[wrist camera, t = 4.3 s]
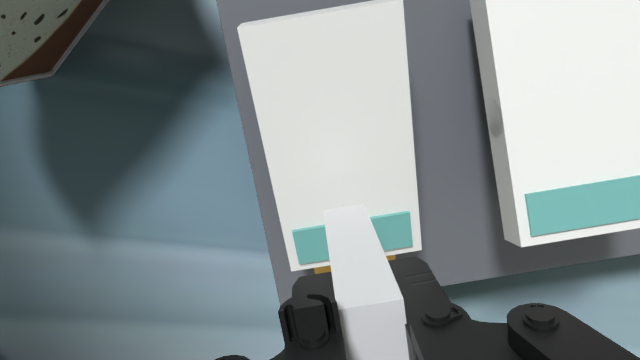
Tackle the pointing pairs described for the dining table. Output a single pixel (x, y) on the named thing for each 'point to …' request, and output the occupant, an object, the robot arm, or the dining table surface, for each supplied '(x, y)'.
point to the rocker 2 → (562, 114)
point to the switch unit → (424, 152)
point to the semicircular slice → (41, 35)
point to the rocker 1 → (336, 122)
